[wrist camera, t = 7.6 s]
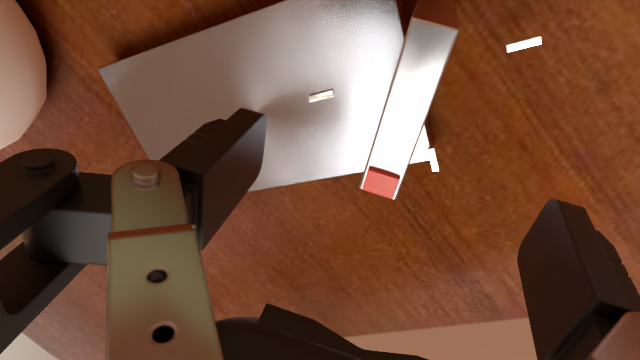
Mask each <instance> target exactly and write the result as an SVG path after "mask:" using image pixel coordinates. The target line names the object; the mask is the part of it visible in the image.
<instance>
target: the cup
mask: <svg viewBox="0 0 640 360" xmlns="http://www.w3.org/2000/svg"><path fill="white" fill-rule="evenodd" d="M46 99H47V94H46V61H45V56H44V53H43V51H42V48H41V45H40V42H39V39H38V36H37V33H36V30H35V29H34V27H33V26H32V24H31V23H30V21H29V20H28V18H27V17H26V15H25V14H24V12H23V11H22V9H21V8H20V6H19V4H18V3H17V2H16V1H15V0H0V149H2V148H4V147H6V146H7V145H9V144H11V143H13V142H15V141H17V140H19V139H20V137H21V136H22V135H23V134H24V132H25V131H26V130H27V128H28V127H29V126H30V125H31V123H32V122H33V121H34V120H35V118H36V117H37V115H38V113H39V111H40V109H41V108H42V106H43V104H44V102H45V100H46Z"/></svg>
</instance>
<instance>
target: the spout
mask: <svg viewBox="0 0 640 360" xmlns="http://www.w3.org/2000/svg"><path fill="white" fill-rule="evenodd" d="M458 34H459V25H458V17H457V10H456V3H455V1H453V0H418V1H417V3H416V6H415V9H414V11H413V14H412V17H411V20H410V23H409V26H408V29H407V33H406V36H405V39H404V42H403V46H402V49H401V52H400V55H399V59H398V62H397V65H396V68H395V72H394V75H393V78H392V81H391V85H390V88H389V91H388V95H387V98H386V101H385V104H384V108H383V111H382V114H381V117H380V121H379V124H378V127H377V130H376V134H375V137H374V140H373V143H372V147H371V150H370V153H369V156H368V160H367V163H366V166H365V170H364V173H363V176H362V179H361V183H360V186H359V187H360V189H361V190H365V191H368V192H371V193H374V194H377V195H381V196H384V197H387V198H390V199H393V200H395V199H396V198H397V195H398V192H399V190H400V187H401V185H402V182H403V179H404V177H405V174H406V171H407V169H408V166H409V163H410V161H411V158H412V155H413V153H414V150H415V148H416V145H417V142H418V140H419V137H420V134H421V132H422V129H423V126H424V124H425V121H426V118H427V116H428V113H429V110H430V108H431V105H432V103H433V100H434V97H435V95H436V92H437V89H438V87H439V84H440V81H441V79H442V76H443V73H444V71H445V68H446V66H447V63H448V60H449V58H450V55H451V52H452V50H453V47H454V44H455V42H456V39H457V36H458Z"/></svg>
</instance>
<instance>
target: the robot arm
mask: <svg viewBox="0 0 640 360" xmlns="http://www.w3.org/2000/svg"><path fill="white" fill-rule="evenodd" d="M266 130H267V116H266V114H262V113H259V112H255V111H252V110H248V109H245V108H240V109H238V110H237V111H236V112H235V113H234V114H233V115H231V116H230V117H229V118H228V119H227V120H223V119H217V120H214V121H211V122H208V123H205V124H203V125H202V126H201V127H200V128H198V129H197V130H196V131H195V132H194V134H193V133H192V134H191V135H190V136H188V137H187V138H186V140H183V141H182V142H181V143H180V144H178V145H177V146H176V147H175V148H173V149H172V150H171V151H170V152H168V153H167V154H166V155H165V156H164V157H162V158H161V159H160V160H159V161H158V160H137V161H133V162H129V163H127V164H124V165H122V166H120V167H119V168H118V169H116V170H115V172H114V173H113V175H105V174H95V173H84V172H78V167H77V161H76V159H75V157H74V156H73V155H72V154H70V153H68V152H66V151H63V150H59V149H48V148H44V149H33V150H28V151H24V152H21V153H18V154H15V155H13V156H11V157H9V158H8V159H6V160H4V161H2V162H1V163H0V250H1V249H2V248H4V247H5V246H6V245H7V244H9V243H10V242H11V241H13V240H14V239H15V238H16V237H18V236H19V235H20V234H21V235H22V238H23V242H22V243H21V244H20V245H18V246H17V247H16V248H15V249H13V250H12V251H11V252H10V253H9V254H7V255H6V256H5V257H4V258H2V259H1V260H0V354H1V353H2V352H3V351H4V350H5V349H6V348H7V347H8V346H9V344H11V343H12V341H13V340H14V339H15V338H16V337H17V336H18V335H19V334H20V333H21V332H22V331H23V330H24V329H25V328H26V327H27V326H28V325H29V324H30V323H31V322H32V321H33V320H34V319H35V318H36V317H37V316H38V315H39V314H40V313H41V312H42V310H43V309H44V308H45V307H46V306H47V305H48V304H49V303H50V302H51V301H52V300H53V299H54V298H55V297H56V296H57V295H58V294H59V293H60V292H61V291H62V290H63V289H64V288H65V287H66V286H67V285H68V284H69V283H70V282H71V281H72V279H73V278H74V277H75V276H76V275H77V274H78V273H79V272H80V271H81V270H82V269H83V268H84V267H85V266H86V265H87V264H97V265H107V283H106V347H105V360H428V359H425V358H422V357H419V356H415V355H406V354H396V353H388V352H379V351H370V350H364V349H361V348H359V347H357V346H356V345H354V344H352V343H351V342H349V341H348V340H346V339H344V338H343V337H341V336H339V335H338V334H336V333H335V332H333V331H331V330H330V329H328V328H327V327H325V326H323V325H322V324H320V323H319V322H317V321H315V320H313V319H310V318H308V317H305V316H302V315H299V314H296V313H293V312H290V311H288V310H285V309H282V308H279V307H276V306H273V305H270V304H266V306H265V308H264V310H263V312H262V314H261V316H260V318H256V317H237V318H228V319H223V320H219V321H215V318H214V313H213V309H212V304H211V299H210V295H209V290H208V286H207V281H206V277H205V272H204V267H203V263H202V258H201V254H200V250H203V249H204V248H205V246H206V245H207V244H208V242H209V241H210V240H211V238H212V237H213V236H214V235H215V233H216V232H217V231H218V229H219V228H220V227H221V225H222V224H223V223H224V221H225V220H226V219H227V217H228V216H229V215H230V214H231V212H232V211H233V210H234V208H235V207H236V206H237V204H238V203H239V202H240V200H241V199H242V198H243V197H244V195H245V194H246V193H247V191H248V190H249V189H250V187H251V186H252V185H253V183H254V182H255V181H256V179H257V177H258V175H259V173H260V170H261V167H262V162H263V155H264V146H265V138H266ZM517 262H518V267H519V272H520V277H521V282H522V287H523V292H524V297H525V301H526V306H527V311H528V316H529V321H530V326H531V330H532V335H533V340H534V345H535V350H536V355H537V360H640V296H639V294H638V292H637V290H636V288H635V286H634V284H633V282H632V280H631V278H630V277H628V272H627V271H626V269H625V267H624V265H622V264H621V263H622V261H621V259H620V257H619V255H618V253H617V251H616V249H615V247H614V246H613V245H612V244H611V243H610V242H609V241H608V240H607V239H606V238H605V237H604V236H603V235H602V234H601V233H600V232H599V231H597V230H595V228H594V226H593V224H592V222H591V220H590V218H589V216H588V214H587V212H586V210H585V208H583V207H581V206H577V205H574V204H570V203H567V202H563V201H560V200H556V199H551V200H549V201H548V202H547V203H546V204H545V206H544V207H543V209H542V210H541V212H540V214H539V215H538V217H537V218H536V220H535V222H534V223H533V225H532V226H531V228H530V230H529V231H528V233H527V235H526V236H525V238H524V239H523V241H522V243H521V245H520V248H519V252H518V258H517Z"/></svg>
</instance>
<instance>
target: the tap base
mask: <svg viewBox="0 0 640 360" xmlns="http://www.w3.org/2000/svg"><path fill="white" fill-rule="evenodd" d="M407 29H408V26H407V22H406V18H405V13H404V9H403V5H402V0H281V1H278V2H275V3H272V4H270V5H267V6H264V7H262V8H259V9H256V10H253V11H251V12H248V13H245V14H243V15H240V16H237V17H234V18H232V19H229V20H226V21H223V22H221V23H218V24H215V25H213V26H210V27H207V28H204V29H202V30H199V31H196V32H194V33H191V34H188V35H185V36H183V37H180V38H177V39H175V40H172V41H169V42H166V43H164V44H161V45H158V46H155V47H153V48H150V49H147V50H145V51H142V52H139V53H136V54H134V55H131V56H128V57H126V58H123V59H120V60H117V61H115V62H113V63H110V64H108V65H105V66H103V67H100V68H98V71H99V73H100V75H101V77H102V78H103V80H104V82H105V84H106V85H107V87H108V89H109V90H110V92H111V94H112V96H113V97H114V99H115V101H116V103H117V104H118V106H119V108H120V110H121V111H122V113H123V115H124V117H125V118H126V120H127V122H128V123H129V125H130V127H131V129H132V130H133V132H134V134H135V136H136V137H137V139H138V141H139V143H140V144H141V146H142V148H143V149H144V151H145V153H146V155H147V156H148V158H149V160H158V161H159V160H160V159H161V158H162V157H164V156H165V155H166V154H167V153H168V152H170V151H171V150H172V149H173V148H175V147H176V146H177V145H178V144H180V143H181V142H182V141H183V140H186V138H187V137H188V136H190V135H191V134H192V133H193V134H194V132H195V131H196V130H197V129H198V128H200V127H201V126H202V125H203V124H205V123H208V122H211V121H214V120H217V119H223V120H227V119H228V118H229V117H230V116H231V115H233V114H234V113H235V112H236V111H237V110H238V109H240V108H245V109H248V110H252V111H255V112H259V113H262V114H266V116H267V130H266V138H265V146H264V155H263V162H262V167H261V170H260V173H259V175H258V177H257V179H256V181H255V182H254V183H253V185H252V186H251V187H250V189H249V190H248V191H247V192H250V191H256V190H262V189H268V188H274V187H280V186H285V185H291V184H297V183H303V182H309V181H315V180H320V179H326V178H332V177H338V176H344V175H350V174H355V173H361V172H364V170H365V166H366V163H367V160H368V156H369V153H370V150H371V147H372V143H373V140H374V137H375V134H376V130H377V127H378V124H379V121H380V117H381V114H382V111H383V108H384V104H385V101H386V98H387V95H388V91H389V88H390V85H391V81H392V78H393V75H394V72H395V68H396V65H397V62H398V59H399V55H400V52H401V49H402V46H403V42H404V39H405V36H406V33H407ZM541 44H542V38H541V35H540V36H536V37H532V38H529V39H525V40H521V41H517V42H513V43H509V44H506V49H507V53H509V52H513V51H517V50H521V49H525V48H529V47H533V46H537V45H541ZM425 161H430V163H431V167H432V172H435V171H439V166H438V162H437V157H436V153H435V149H434V140H433V136H432V132H431V127H430V123H429V119H428V116H427V118H426V121H425V124H424V126H423V129H422V132H421V134H420V137H419V140H418V142H417V145H416V148H415V150H414V153H413V155H412V158H411V161H410V163H409V164H414V163H420V162H425Z"/></svg>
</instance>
